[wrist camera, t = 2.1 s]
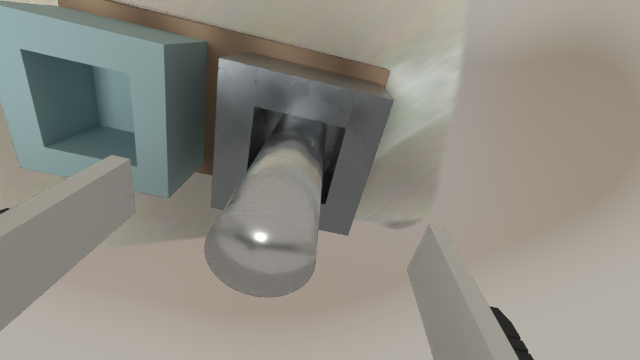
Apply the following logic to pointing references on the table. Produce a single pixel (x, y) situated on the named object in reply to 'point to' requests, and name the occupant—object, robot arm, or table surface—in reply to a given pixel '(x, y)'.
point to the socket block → (303, 101)
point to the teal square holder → (101, 94)
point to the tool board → (225, 54)
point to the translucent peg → (273, 214)
